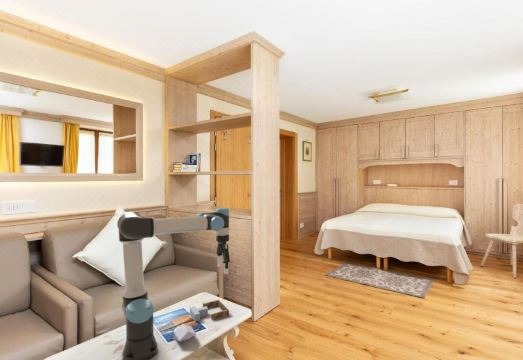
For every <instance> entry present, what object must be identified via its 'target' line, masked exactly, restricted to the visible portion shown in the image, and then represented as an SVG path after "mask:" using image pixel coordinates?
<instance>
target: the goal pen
mask: <svg viewBox="0 0 523 360" xmlns="http://www.w3.org/2000/svg"><path fill="white" fill-rule="evenodd" d="M202 307H207V308H208V309H210V308H213V307H218V308H219V309H220V310H221V311H217V312H213V313H211V315H210V316H211V320H212V321H213V320H214V321H215V320H217V319H221V318H224V317H227V316H228V317H229V316H230V309H228V308H227V306H225V305H224V304H223V302H222V301H220V300H219V299H215V300H213V301H212V300H211V301H208V302H203V303H202Z"/></svg>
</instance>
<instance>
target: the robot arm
mask: <svg viewBox="0 0 523 360" xmlns="http://www.w3.org/2000/svg"><path fill="white" fill-rule="evenodd" d="M116 225H117V229H118V240H119V242H120V243H121V244H122V249H123V254H122V255H123V268H124V269H123V270H124V287H125V290H124V291H123V293H122V306H121V307H122V311H123V316H124V320H125V328H126V329H125V332H126V333H125V334H126V341H125V344H124V346H123V350H122V360H151V359H152V358H153V357H155V356H156V355H157V353H158V347H159V345H158V342H157V340H156V337H155V335H154V334H155V333H154V304H153V302H152V301H151V300H150V299H149V296H148V294H149V293H148V289H147V288H146V287H145V283H144V282H145V281H144V279H145V278H144V261H143V244H142V241H143V240H145V239H150V238H154V237H155V236H156V235H157V236H159V235H169V234H179V233H191V232H202V231H203V232H204V231H215V233H216V235H215V236H216V238H215V239H216V242H217V247H216V255H217V268H220V267H221V268H222V267H223V275H228V274H229V272H230V270H229V267H230V266H229V265H230V264H229V263H231V260H230V252H229V244H227V243H228V242H229V241H230V235H229V234H230V230H231V229H230V210H229V208H228V207H217V208H216V210H215V211H214V212H201V213H196V215H195V216H185V217H184V216H183V217H182V216H181V217H166V218H165V217H163V218H155V217H153V216H142V215H141V214H140V213H138V212H135V211H128V212H124V213H123V214H121V216H120V217H119V218H118V220H117V223H116Z"/></svg>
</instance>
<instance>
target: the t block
mask: <svg viewBox="0 0 523 360" xmlns="http://www.w3.org/2000/svg"><path fill="white" fill-rule="evenodd" d="M189 316H190V317H191V318H192V320H193V321H194V322H199V321H201V318H202V317H203V318H204V317H205V316H206V317H207V316H209V308H207V307H203V306H202V307H198V308H196V306H192V307H189Z"/></svg>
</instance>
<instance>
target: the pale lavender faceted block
mask: <svg viewBox="0 0 523 360" xmlns="http://www.w3.org/2000/svg"><path fill="white" fill-rule="evenodd" d="M195 336H198V334H197V333H196V331H195V330H194V329H193V327H192V326H191V325H187V324H185V323H182V324H181V325H179V326H177V327H175V328H174V330H173V339H174V341H175V342H186V341H188V340H189V339H191V338H192V337H195Z"/></svg>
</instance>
